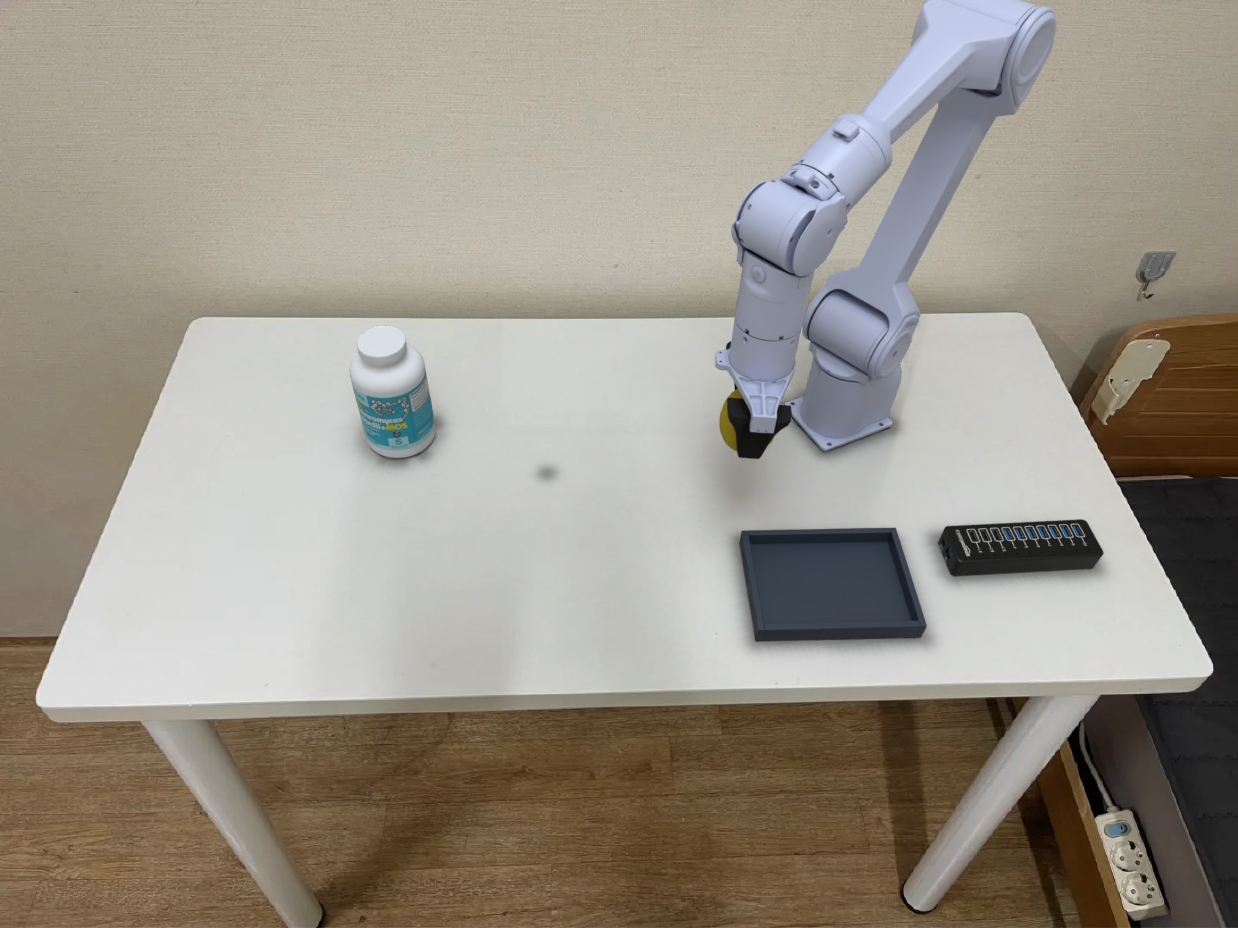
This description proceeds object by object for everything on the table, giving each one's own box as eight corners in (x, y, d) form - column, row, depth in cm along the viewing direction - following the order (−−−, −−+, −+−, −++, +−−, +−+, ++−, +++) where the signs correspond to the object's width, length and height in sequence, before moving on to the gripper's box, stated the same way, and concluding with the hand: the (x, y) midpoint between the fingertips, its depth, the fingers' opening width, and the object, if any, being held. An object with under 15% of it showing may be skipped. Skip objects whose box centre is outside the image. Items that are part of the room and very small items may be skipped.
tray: (890, 539, 88) (896, 527, 87) (921, 638, 81) (927, 626, 79) (739, 542, 88) (741, 530, 86) (755, 641, 80) (758, 630, 79)
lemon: (779, 440, 88) (792, 380, 82) (760, 477, 84) (773, 418, 79) (727, 422, 89) (736, 362, 83) (706, 458, 86) (715, 398, 80)
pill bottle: (353, 449, 95) (325, 352, 85) (390, 405, 100) (368, 308, 90) (414, 470, 93) (393, 373, 83) (449, 423, 98) (433, 327, 88)
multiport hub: (1095, 568, 86) (1105, 554, 85) (951, 576, 85) (958, 562, 84) (1076, 532, 89) (1085, 518, 88) (936, 540, 88) (943, 525, 87)
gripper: (720, 266, 80) (706, 378, 90) (722, 374, 70) (706, 486, 80) (798, 271, 80) (775, 383, 90) (811, 379, 70) (784, 491, 80)
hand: (747, 432), depth 85 cm, fingers closed on lemon, 5 cm apart
